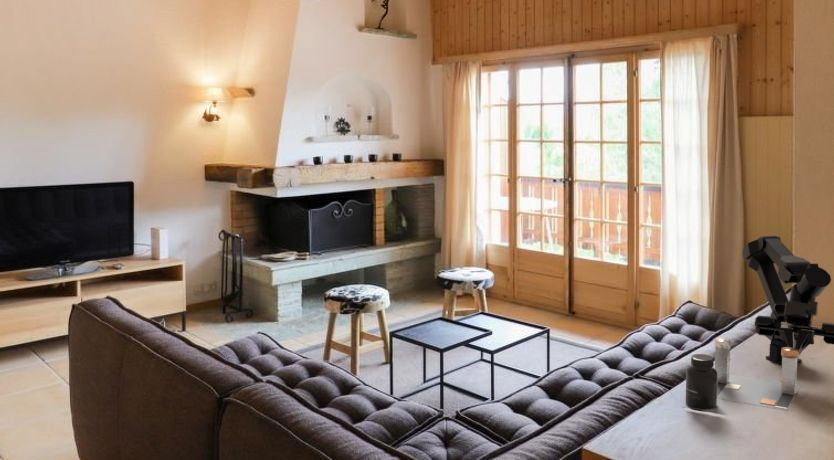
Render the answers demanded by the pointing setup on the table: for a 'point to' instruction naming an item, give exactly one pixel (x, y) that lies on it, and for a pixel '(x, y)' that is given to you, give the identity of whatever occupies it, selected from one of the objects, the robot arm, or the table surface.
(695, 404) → the supplement bottle
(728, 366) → the lever
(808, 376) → the table surface
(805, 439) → the table surface
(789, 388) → the lever
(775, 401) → the switch board
